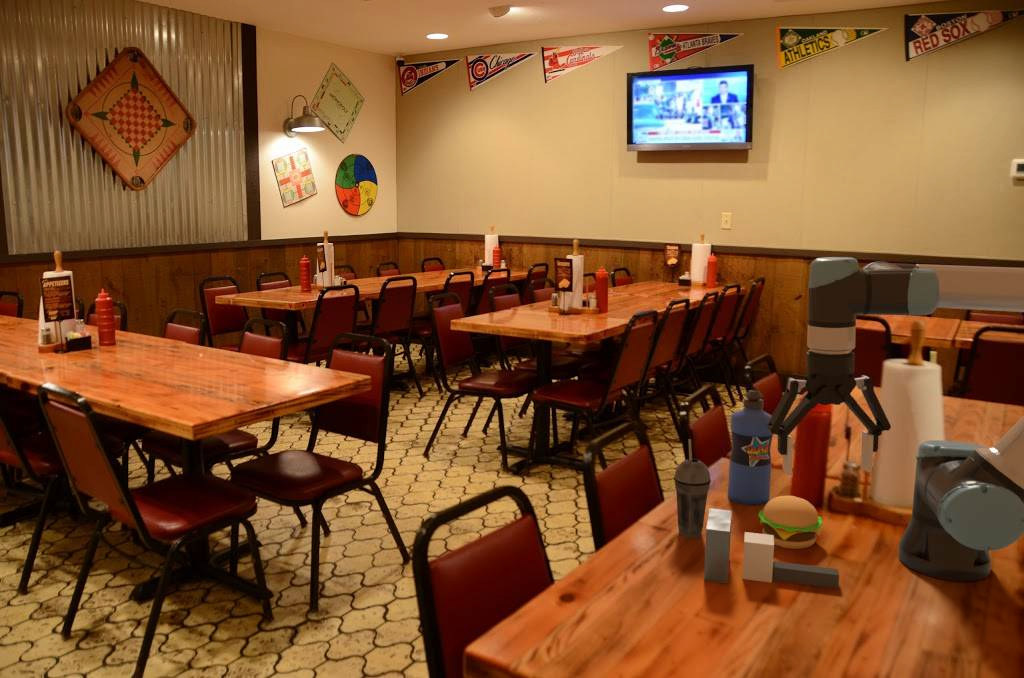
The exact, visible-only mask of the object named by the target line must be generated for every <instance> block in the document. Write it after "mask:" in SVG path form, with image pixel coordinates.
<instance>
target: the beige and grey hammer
mask: <svg viewBox="0 0 1024 678" xmlns="http://www.w3.org/2000/svg"><path fill="white" fill-rule="evenodd" d="M743 539H744V540H743V541H744V543H743V559H742V561H743V562H742V579H743V580H748V581H749V580H750V581H756V582H764V583H770V584H771V583H772V582H773V581H776V582H784V583H792V584H798V585H807V586H813V587H820V588H821V587H823V588H828V589H829V588H831V589H838V590H839V585H840V584H839V583H840V571H839V569H838V568H835V567H834V568H831V567H825V566H816V565H815V566H814V565H808V564H799V563H793V562H792V563H791V562H784V561H775V560H774V555H775V553H774V551H775V545H774V535H768V534H763V533H756V532H751V531H750V532H749V531H747V532H746V531H744V538H743Z"/></svg>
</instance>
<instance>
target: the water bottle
mask: <svg viewBox="0 0 1024 678" xmlns="http://www.w3.org/2000/svg"><path fill="white" fill-rule="evenodd" d="M744 396H745V398H743V406H742V407H743V409H740V410H738V411H735V412H733V413H731V415H730V427H729V428H730V431H731V432H730V433H731V444H732V446H731V451H730V457H729V461H728V462H729V464H728V465H729V466H728V480H727V481H728V483H727V498H728V499H729V500H730V501H732V502H734V503H736V504H739V505H745V506H763V505H766V504H767V502H768V501H770V495H771V493H770V492H771V481H772V480H771V476H772V457H771V447H772V442H773V441H772V440H773V436H774V434H772V433H771V432H770V431H769V430H768V429H767V425H768V423H769V421H770V419H771V417H772V415H773V414H772V415H771V414H769V413H768V412H766V411H764V409H763V408H764V404H765V403H764V399H762V398H763V397H764V395H763V394H762V392H760V391H759V389H754V388H752V389H749V390H748V391H747V392H746V393H745V394H744Z"/></svg>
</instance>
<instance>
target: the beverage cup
mask: <svg viewBox="0 0 1024 678" xmlns="http://www.w3.org/2000/svg"><path fill="white" fill-rule="evenodd" d="M687 440H688V459H685V460H683V461H682V462H680V464H678V466H677V467H676V469H675V471H674V476H673V480H674V486H675V490H676V491H675V492H676V508H677V509H676V511H677V526H678V535H680V537H683V538H686V539H699V538H701V537H702V532H703V528H704V523H705V517H706V516H705V515H706V506H707V500H708V492H709V491H710V486H711V482H712V480H711V473H710V470H709V468H708V466H707V465H706V464H705V463H704V462H703V461H701V460H699V459H696V458H693V450H692V439H691V438H689V439H687Z"/></svg>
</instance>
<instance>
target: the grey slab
mask: <svg viewBox="0 0 1024 678" xmlns="http://www.w3.org/2000/svg"><path fill="white" fill-rule="evenodd" d="M732 516H733V515H732V510H729V509H720V508H712V507H711V508H710V507H709V509H708V516H707V517H708V518H707V522H706V528H705V529H706V530H705V549H704V550H705V552H704V572H703V573H704V574H703V581H704V582H710V583H712V582H713V583H719V584H726V585H728V578H729V563H730V556H731V555H730V554H731V552H730V551H731V533H732Z"/></svg>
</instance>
